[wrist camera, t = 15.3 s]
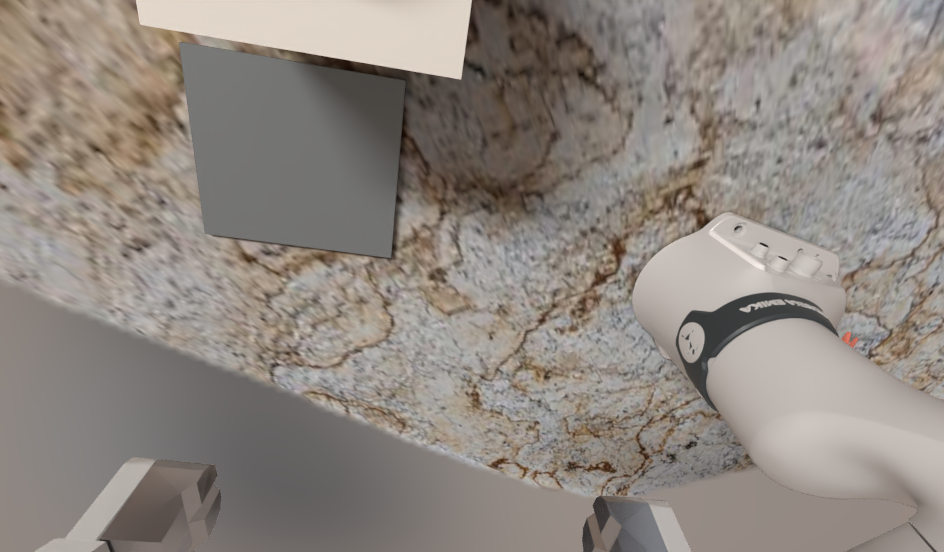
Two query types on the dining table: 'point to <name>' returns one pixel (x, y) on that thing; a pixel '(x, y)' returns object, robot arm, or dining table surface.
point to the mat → (294, 150)
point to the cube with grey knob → (331, 28)
